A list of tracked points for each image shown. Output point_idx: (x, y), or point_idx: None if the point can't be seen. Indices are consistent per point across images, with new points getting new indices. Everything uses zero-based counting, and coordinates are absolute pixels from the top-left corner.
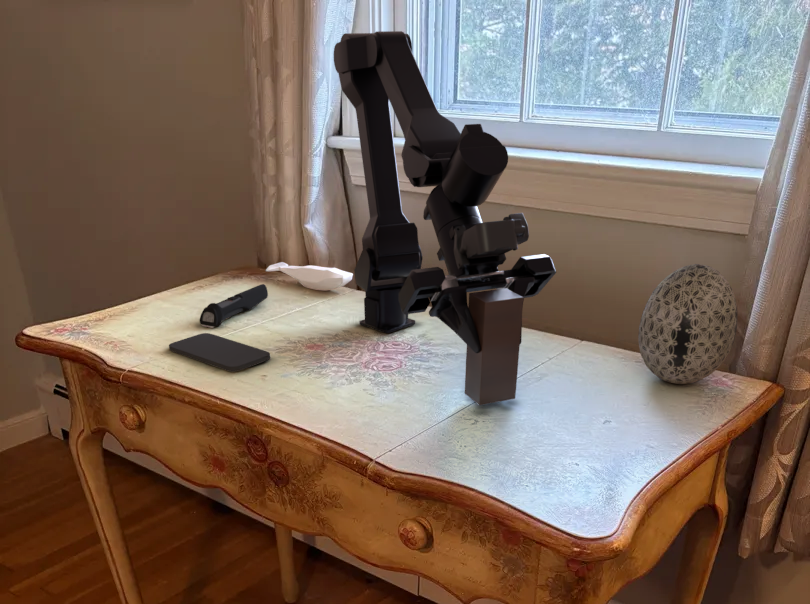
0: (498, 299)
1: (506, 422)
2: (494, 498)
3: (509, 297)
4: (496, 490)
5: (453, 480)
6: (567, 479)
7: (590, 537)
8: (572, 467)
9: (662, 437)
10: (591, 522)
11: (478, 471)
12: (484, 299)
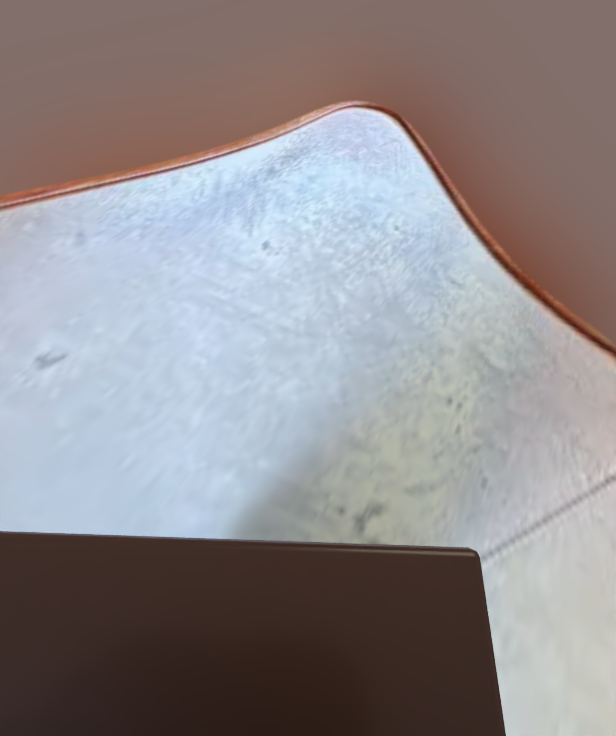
0: (241, 596)
1: (283, 474)
2: (468, 221)
3: (33, 611)
4: (454, 237)
5: (521, 292)
6: (316, 216)
7: (380, 112)
8: (280, 241)
9: (18, 254)
10: (358, 130)
11: (461, 299)
12: (440, 705)
